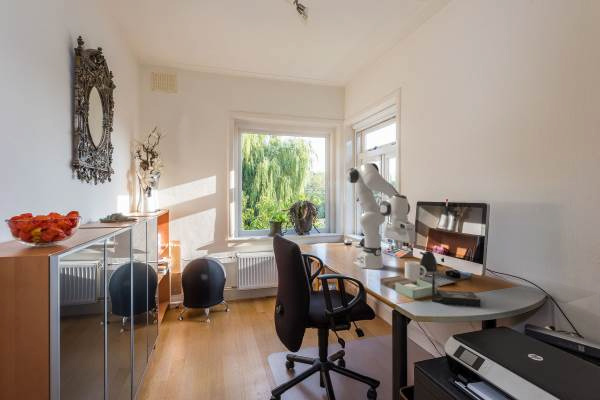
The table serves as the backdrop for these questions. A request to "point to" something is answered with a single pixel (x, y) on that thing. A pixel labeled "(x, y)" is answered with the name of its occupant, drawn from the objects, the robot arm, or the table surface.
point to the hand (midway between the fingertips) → (398, 248)
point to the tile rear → (410, 286)
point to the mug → (413, 270)
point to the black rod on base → (455, 297)
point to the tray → (416, 290)
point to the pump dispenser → (428, 263)
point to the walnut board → (396, 281)
